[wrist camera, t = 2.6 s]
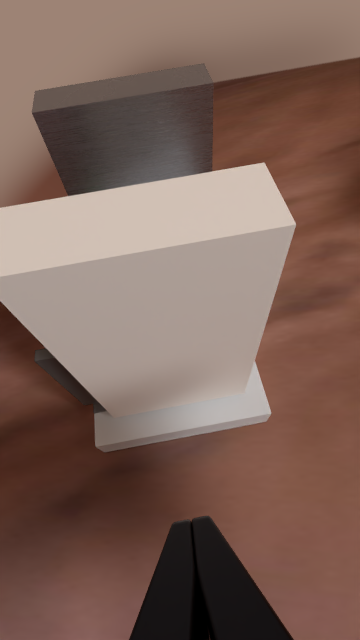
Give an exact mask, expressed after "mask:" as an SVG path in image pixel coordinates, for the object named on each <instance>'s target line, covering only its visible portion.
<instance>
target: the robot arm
mask: <svg viewBox="0 0 360 640" xmlns="http://www.w3.org/2000/svg"><path fill="white" fill-rule="evenodd" d="M209 635H210V636H209ZM129 640H294V639H293V638H292V636H291V635H290V634H289V632H288V631H287V629H286V628H285V626H284V625H283V623H282V622H281V620H280V619H279V617H278V616H277V614H276V613H275V611H274V610H273V608H272V607H271V606H270V604H269V603H268V601H267V600H266V598H265V597H264V595H263V594H262V592H261V591H260V589H259V588H258V586H257V585H256V583H255V582H254V580H253V579H252V578H251V576H250V575H249V573H248V572H247V570H246V569H245V567H244V566H243V564H242V563H241V561H240V560H239V558H238V557H237V555H236V554H235V553H234V551H233V550H232V548H231V547H230V545H229V544H228V542H227V541H226V539H225V538H224V536H223V535H222V533H221V532H220V530H219V529H218V527H217V526H216V525H215V523H214V522H213V520H212V519H211V518H210V517H209V516H203V517H198V518H194V519H192V523H191V521H190V520H183V521H177V522H174V523H173V524H172V526H171V528H170V531H169V534H168V536H167V539H166V542H165V544H164V547H163V550H162V552H161V555H160V558H159V560H158V563H157V566H156V569H155V571H154V574H153V577H152V579H151V582H150V585H149V587H148V590H147V593H146V595H145V598H144V601H143V604H142V606H141V609H140V612H139V614H138V617H137V620H136V622H135V625H134V628H133V630H132V633H131V636H130V639H129Z"/></svg>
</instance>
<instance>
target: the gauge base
mask: <svg viewBox="0 0 360 640" xmlns="http://www.w3.org/2000/svg"><path fill="white" fill-rule="evenodd" d="M93 407H94V420H95V447H96V448H98V449H100V450H101V451H103V452H109V451H115V450H120V449H125V448H130V447H136V446H141V445H146V444H151V443H157V442H162V441H167V440H172V439H178V438H183V437H188V436H193V435H199V434H204V433H209V432H214V431H220V430H225V429H230V428H235V427H240V426H246V425H251V424H256V423H261V422H266V421H267V420H268V418H269V416H270V415H271V411H270V407H269V404H268V401H267V398H266V395H265V392H264V388H263V385H262V382H261V379H260V376H259V373H258V369H257V366H256V363H255V361H254V364H253V367H252V371H251V374H250V377H249V380H248V384H247V387H246V390H245V393H244V394H239V395H233V396H228V397H223V398H217V399H212V400H207V401H201V402H196V403H191V404H185V405H180V406H175V407H170V408H164V409H159V410H154V411H148V412H143V413H138V414H132V415H127V416H122V417H116V418H113V416H112V415H111V414H110V413H109V412H108V411H107V410H106V409H105V408H104V407H103V406H102V405H101V404H100V403H94V404H93Z"/></svg>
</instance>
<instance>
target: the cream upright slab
mask: <svg viewBox="0 0 360 640" xmlns="http://www.w3.org/2000/svg"><path fill="white" fill-rule="evenodd" d="M295 227H296V223H295V221H294V219H293V217H292V215H291V214H290V212H289V210H288V208H287V206H286V204H285V202H284V200H283V198H282V196H281V194H280V192H279V190H278V188H277V186H276V184H275V182H274V180H273V178H272V177H271V175H270V173H269V171H268V169H267V167H266V165H265V163H259V164H254V165H248V166H242V167H236V168H230V169H224V170H219V171H213V172H207V173H201V174H195V175H189V176H184V177H178V178H172V179H166V180H160V181H154V182H149V183H143V184H137V185H131V186H125V187H119V188H114V189H108V190H102V191H96V192H90V193H84V194H79V195H73V196H67V197H61V198H55V199H50V200H44V201H38V202H32V203H26V204H20V205H15V206H9V207H3V208H0V301H1V302H2V303H3V304H4V305H5V306H6V307H7V309H8V310H9V311H10V312H11V313H12V314H13V315H14V316H15V317H16V318H17V319H18V320H19V321H20V322H21V323H22V324H23V325H24V326H25V327H26V328H27V329H28V330H29V331H30V332H31V333H32V334H33V335H34V336H35V337H36V338H37V339H38V340H39V341H40V342H41V343H42V344H43V346H44V347H45V349H40V350H35V362H36V363H37V364H38V365H39V366H40V367H42V368H43V369H44V370H45V371H46V372H47V373H48V374H50V375H51V376H52V377H53V378H54V379H55V380H56V381H57V382H59V383H60V384H61V385H62V386H63V387H64V388H65V389H66V390H68V391H69V392H70V393H71V394H72V395H73V396H74V397H76V398H77V399H78V400H79V401H80V402H81V403H82V404H83V405H89V404H94V403H100V404H101V405H102V406H103V407H104V408H105V409H106V410H107V411H108V412H109V413H110V414H111V415H112V416H113V418H116V417H122V416H127V415H132V414H138V413H143V412H148V411H154V410H159V409H164V408H170V407H175V406H180V405H185V404H191V403H196V402H201V401H207V400H212V399H217V398H223V397H228V396H233V395H239V394H244V393H245V390H246V387H247V384H248V380H249V377H250V374H251V371H252V367H253V364H254V361H255V357H256V354H257V351H258V348H259V344H260V341H261V338H262V335H263V331H264V328H265V325H266V321H267V318H268V315H269V312H270V308H271V305H272V302H273V299H274V295H275V292H276V289H277V285H278V282H279V279H280V276H281V272H282V269H283V266H284V263H285V259H286V256H287V253H288V249H289V246H290V243H291V240H292V236H293V233H294V230H295Z"/></svg>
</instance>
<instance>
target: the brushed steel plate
mask: <svg viewBox="0 0 360 640" xmlns="http://www.w3.org/2000/svg"><path fill="white" fill-rule="evenodd" d="M32 114H33V116H34V118H35V121H36V123H37V125H38V128H39V130H40V132H41V135H42V137H43V139H44V142H45V144H46V146H47V148H48V151H49V153H50V155H51V158H52V160H53V162H54V164H55V167H56V169H57V171H58V173H59V176H60V178H61V180H62V182H63V185H64V187H65V189H66V192H67V194H68V196H73V195H79V194H84V193H90V192H96V191H102V190H108V189H114V188H119V187H125V186H131V185H137V184H143V183H149V182H154V181H160V180H166V179H172V178H178V177H184V176H189V175H195V174H201V173H207V172H212V142H213V81H212V79H211V77H210V75H209V73H208V71H207V69H206V67H205V65H204V64H198V65H192V66H186V67H180V68H173V69H167V70H161V71H155V72H148V73H142V74H137V75H130V76H124V77H118V78H112V79H106V80H99V81H94V82H87V83H81V84H75V85H69V86H63V87H57V88H51V89H44V90H39V91H35V95H34V102H33V109H32Z"/></svg>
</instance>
